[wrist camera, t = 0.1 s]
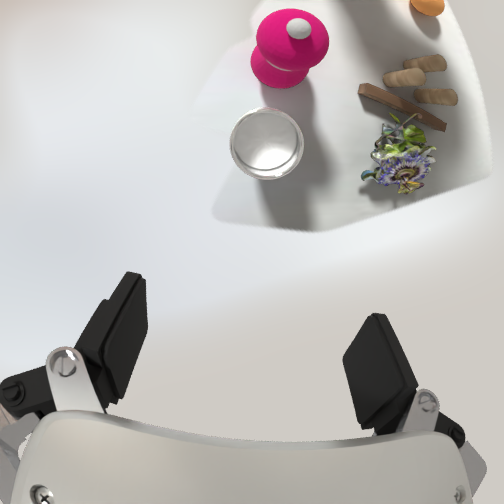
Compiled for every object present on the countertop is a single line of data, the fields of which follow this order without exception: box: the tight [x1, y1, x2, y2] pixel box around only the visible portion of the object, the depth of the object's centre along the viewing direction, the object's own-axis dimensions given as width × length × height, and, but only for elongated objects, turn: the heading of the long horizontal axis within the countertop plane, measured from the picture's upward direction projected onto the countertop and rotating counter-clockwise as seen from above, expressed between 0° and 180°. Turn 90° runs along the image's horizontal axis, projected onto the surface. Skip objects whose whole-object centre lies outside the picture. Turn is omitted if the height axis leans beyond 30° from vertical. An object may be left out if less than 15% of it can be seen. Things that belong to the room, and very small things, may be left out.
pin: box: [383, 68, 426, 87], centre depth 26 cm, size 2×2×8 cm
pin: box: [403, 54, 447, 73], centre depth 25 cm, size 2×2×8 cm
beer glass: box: [230, 107, 304, 180], centre depth 29 cm, size 7×7×15 cm
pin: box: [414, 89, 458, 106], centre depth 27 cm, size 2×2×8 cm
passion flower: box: [361, 113, 436, 194], centre depth 32 cm, size 11×11×12 cm
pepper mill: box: [251, 9, 329, 88], centre depth 22 cm, size 7×7×20 cm
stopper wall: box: [358, 83, 447, 132], centre depth 31 cm, size 2×15×3 cm, turn 78°
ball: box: [410, 0, 445, 16], centre depth 19 cm, size 6×6×6 cm
